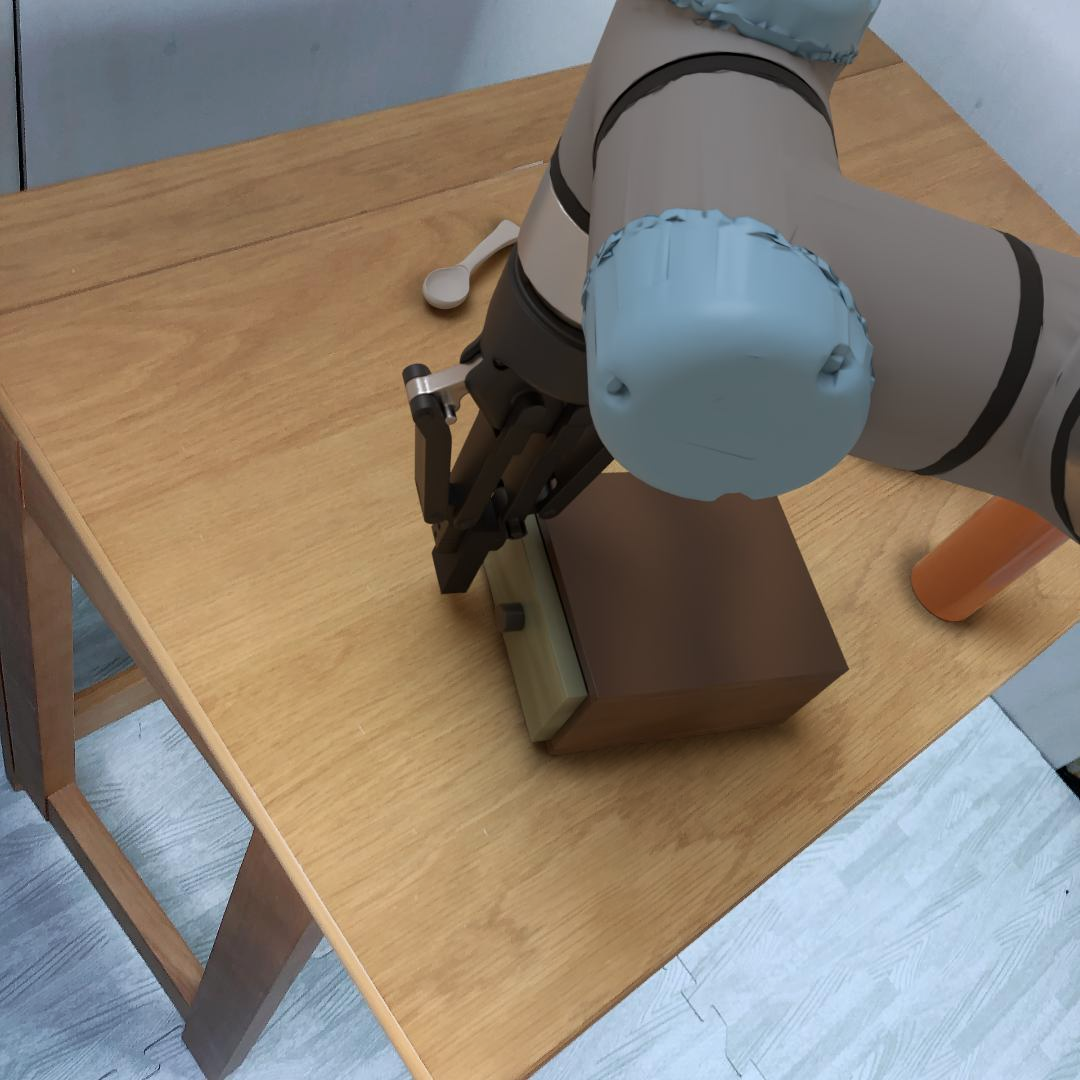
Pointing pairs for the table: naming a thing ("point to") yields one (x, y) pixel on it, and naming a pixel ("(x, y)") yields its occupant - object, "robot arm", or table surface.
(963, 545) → the orange cylindrical post
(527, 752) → the table surface
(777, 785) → the table surface
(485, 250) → the spoon
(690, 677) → the cabinet
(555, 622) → the drawer
